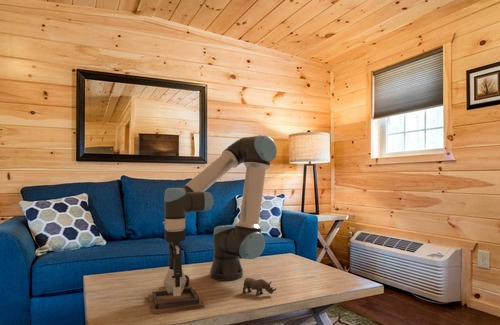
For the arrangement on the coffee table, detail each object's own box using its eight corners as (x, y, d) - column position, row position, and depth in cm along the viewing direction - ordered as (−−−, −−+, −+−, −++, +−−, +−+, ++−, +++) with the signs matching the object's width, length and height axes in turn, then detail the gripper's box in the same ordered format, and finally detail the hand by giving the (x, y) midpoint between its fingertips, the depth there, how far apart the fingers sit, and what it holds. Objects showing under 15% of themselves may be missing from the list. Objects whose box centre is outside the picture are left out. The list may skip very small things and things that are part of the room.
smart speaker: (168, 291, 142) (168, 281, 142) (167, 284, 150) (167, 274, 150) (190, 288, 144) (190, 279, 144) (188, 282, 152) (188, 273, 153)
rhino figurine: (274, 298, 132) (274, 282, 132) (241, 293, 137) (240, 278, 138) (277, 295, 136) (277, 279, 136) (245, 290, 141) (245, 275, 141)
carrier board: (147, 297, 134) (147, 290, 134) (194, 291, 140) (194, 285, 140) (151, 315, 117) (151, 307, 117) (204, 307, 123) (204, 300, 123)
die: (178, 299, 123) (192, 273, 127) (157, 287, 123) (171, 262, 127) (178, 299, 131) (191, 275, 135) (158, 288, 131) (172, 264, 135)
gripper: (161, 226, 139) (161, 283, 138) (168, 235, 118) (168, 302, 117) (180, 225, 141) (180, 281, 140) (190, 233, 120) (190, 299, 120)
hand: (175, 291), depth 129 cm, fingers closed on die, 9 cm apart
